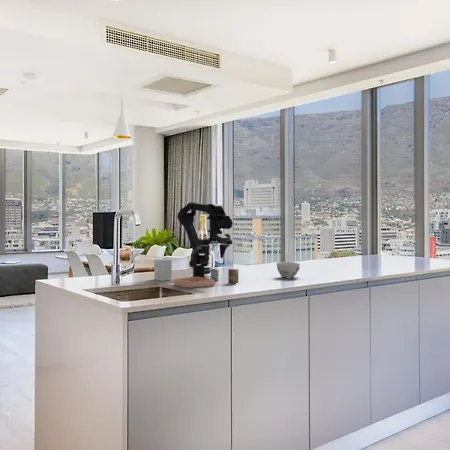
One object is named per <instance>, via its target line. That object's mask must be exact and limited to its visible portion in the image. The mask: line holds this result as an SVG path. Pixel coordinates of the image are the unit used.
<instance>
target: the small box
mask: <svg viewBox="0 0 450 450" xmlns="http://www.w3.org/2000/svg"><path fill="white" fill-rule="evenodd" d="M153 261H154V262H153V264H154V265H153V268H154V270H153V271H154V272H153V273H154V274H153V275H154V278H153V279H154V280H155V279H156V281H161V282H166V281H172V273H173V272H172V259H167V258H157V259H156V258H155V259H153Z"/></svg>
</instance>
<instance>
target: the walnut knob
mask: <svg viewBox="0 0 450 450" xmlns="http://www.w3.org/2000/svg"><path fill="white" fill-rule="evenodd" d="M227 272H228V278H227V279H228V283H231V284H230V285H237V284H236V283H238V284H239V269H238V268H229V269H228V271H227Z"/></svg>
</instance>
